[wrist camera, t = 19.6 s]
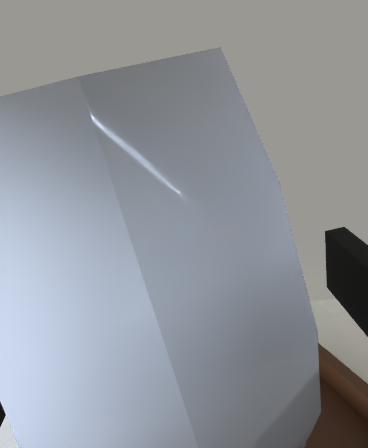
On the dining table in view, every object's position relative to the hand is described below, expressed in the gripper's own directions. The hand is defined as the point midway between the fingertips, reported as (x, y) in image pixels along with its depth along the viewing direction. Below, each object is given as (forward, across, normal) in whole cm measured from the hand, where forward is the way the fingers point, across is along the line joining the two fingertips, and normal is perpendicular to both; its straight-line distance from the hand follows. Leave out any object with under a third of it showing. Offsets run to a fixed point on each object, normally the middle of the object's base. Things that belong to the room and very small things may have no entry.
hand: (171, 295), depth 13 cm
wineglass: (-3, 0, -13) cm, 14 cm away
